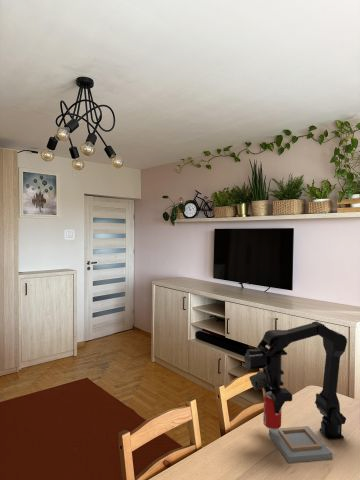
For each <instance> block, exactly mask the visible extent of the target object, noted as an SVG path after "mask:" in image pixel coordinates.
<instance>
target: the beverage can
mask: <svg viewBox="0 0 360 480" xmlns="http://www.w3.org/2000/svg"><path fill="white" fill-rule="evenodd" d="M270 395H271V391H269V392H267V393H266V394H265V395H264V397H263V419H262V420H263V422H262V423H263V425H264V426H265V427H266V428H267V429H268V430H269V429H270V430H277V429H278V428H282V427H281V426H282V408H283V406H282V407H281V409H280V411H279V413H275V410H274V402H273V399H272V398H271V397H270Z"/></svg>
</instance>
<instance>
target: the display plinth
mask: <svg viewBox="0 0 360 480" xmlns="http://www.w3.org/2000/svg"><path fill="white" fill-rule="evenodd" d="M268 435H269V436H270V438H271V439H272V441H273V442H274V444H275V446H276V447H277V448H278V450H279V452H280V453H281V454H282V456H283V457H284V458H285V460H286V462H287V463H288V464H291V463H301V462H303V463H304V462H312V461H313V462H314V461H323V460H333V452H332V451H331V449H329V448H328V446H327V445H326V444H325V443H324V442H323V441H322V440H321V439H320V437H319V436H318V435H317V434H316V433H315V431H313V430H312V429H311V428H310V426H308V425H307V426H291V427H280V428H278V429H277V430H270V429H268Z"/></svg>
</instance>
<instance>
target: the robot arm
mask: <svg viewBox="0 0 360 480" xmlns="http://www.w3.org/2000/svg"><path fill="white" fill-rule="evenodd" d="M316 336H320V337H321V338H322V346H323V349H324V351H325V361H324V363H325V364H324V370H323V379H322V380H323V382H322V390H321V391H320V392H318V393H315V401H314V404H316V405H315V407H316V408H317V410H318V411H319V413H320V414H321V415H322V418H321V419H322V420H320V428H319V431H320V432H321V433H322V435H324V437H325V438H326V439H327V440H328V441H329V440H340V439H345V436H344V435H343V434H342V432H343V431H342V428H343V425H344V424H345V423H346V421H347V417H345V416H344V414H342V413H341V405H340V404H341V403H340V399H339V398H338V381H339V371H340V362H341V361H340V360H341V357H342V355H344V353H345V352H346V348H347V344H348V339H347V337H346V336H345V335H344V334H342V333H340V332H338V331H336V330H334V329H330V328H329V327H327V326H326V325H325V324H323V323H321V322H318V321H312V322H311V323H307V324H303V325H301V326H297V327H294V328H289V329H284V330H283V329H271V330H270V329H269V330H267V331H265V333H264V334H263V338H262V339H261V341H260V342H259V343H258V345H257V346H256V347H257V349H256V348H255V349H252V348H250V349H246V353H245V355H244V356H243V357H244V359H243V361H244V365H245V366H244V367H245V368H246V369H247V370H249V371H250V370H257V369H262V371H257V373H255V374H253V375H251V376H249V377H248V378H249V380H250V384H251V386H252V387H253V389H254V390H255V391H258V390H262V389H263V390H264V393H265V395H266V393H267V392H269V391H271V395H270V397H271V398H272V399H273V402H274V410H275V413H279V411H280V409H281V407H282V408H283V406H284V404H285V403H286V402H292V401H293V394H292V393H291V392H290V391H289V390H288V389H287V388H286V387H282V386H284V382H283V381H282V375H284V373H285V372H284V370H283V369H282V364H283V363H282V359H283V358H282V356H287V355H288V352H287V351H286V350H285V349H286V348H287V347H288V346H290V344H292V343H295V342H298V341H301V340H305V339H309V338H313V337H316ZM267 346H268V347H267ZM281 410H282V409H281Z"/></svg>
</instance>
